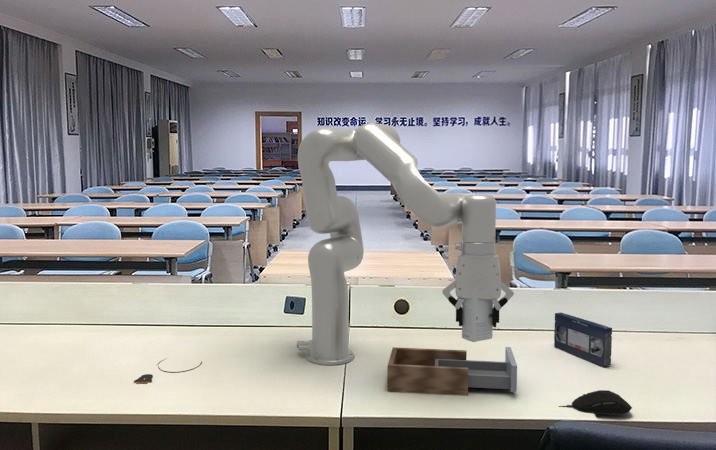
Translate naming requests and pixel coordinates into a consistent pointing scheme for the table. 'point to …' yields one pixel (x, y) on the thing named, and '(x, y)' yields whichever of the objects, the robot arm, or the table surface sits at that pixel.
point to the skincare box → (477, 319)
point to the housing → (426, 372)
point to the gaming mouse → (601, 403)
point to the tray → (488, 371)
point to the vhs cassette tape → (583, 339)
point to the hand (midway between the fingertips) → (477, 324)
